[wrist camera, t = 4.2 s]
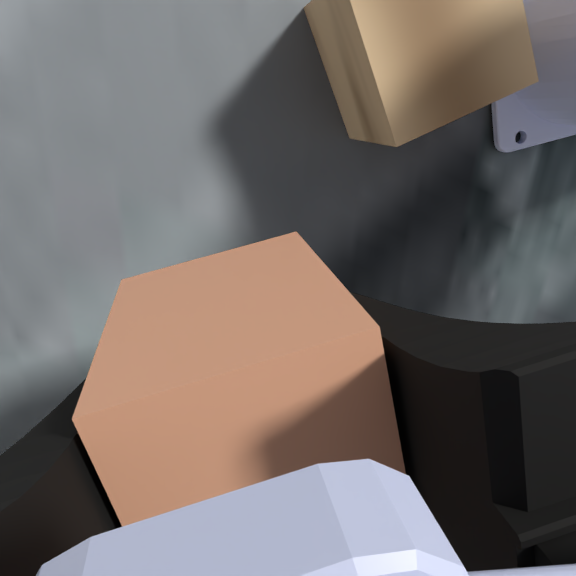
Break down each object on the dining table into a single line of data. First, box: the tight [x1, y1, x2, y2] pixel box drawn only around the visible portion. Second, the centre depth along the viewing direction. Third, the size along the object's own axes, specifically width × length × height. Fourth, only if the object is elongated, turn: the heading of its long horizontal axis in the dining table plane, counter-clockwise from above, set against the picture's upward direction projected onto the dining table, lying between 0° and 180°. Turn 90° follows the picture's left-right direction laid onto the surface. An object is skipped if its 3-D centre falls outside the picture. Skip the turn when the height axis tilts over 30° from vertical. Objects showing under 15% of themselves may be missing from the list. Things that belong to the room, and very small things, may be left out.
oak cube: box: [304, 0, 539, 147], centre depth 17 cm, size 5×5×5 cm
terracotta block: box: [72, 232, 406, 527], centre depth 11 cm, size 4×4×6 cm
